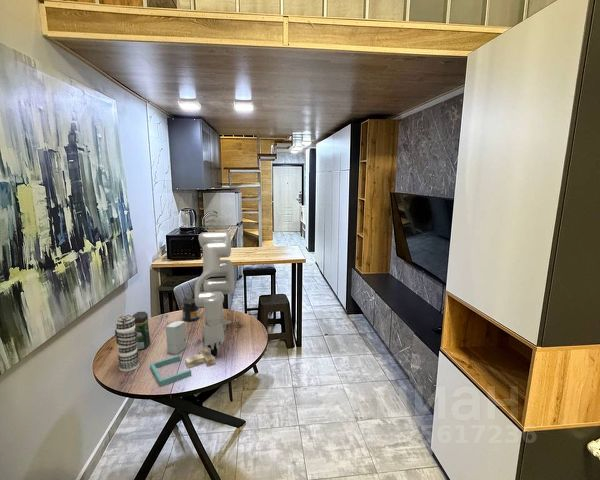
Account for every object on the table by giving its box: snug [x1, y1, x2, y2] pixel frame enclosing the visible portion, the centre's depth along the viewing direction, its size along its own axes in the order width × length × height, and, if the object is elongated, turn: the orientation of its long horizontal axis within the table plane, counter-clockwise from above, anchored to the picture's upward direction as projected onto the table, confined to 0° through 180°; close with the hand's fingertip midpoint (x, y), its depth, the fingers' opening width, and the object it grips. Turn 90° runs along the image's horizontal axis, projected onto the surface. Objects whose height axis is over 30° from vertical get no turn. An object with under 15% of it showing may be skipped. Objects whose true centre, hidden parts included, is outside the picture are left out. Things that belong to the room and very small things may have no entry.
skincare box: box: [165, 320, 187, 355], centre depth 168 cm, size 8×6×15 cm
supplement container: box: [181, 298, 201, 322], centre depth 208 cm, size 10×10×12 cm
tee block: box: [184, 348, 216, 369], centre depth 157 cm, size 12×12×3 cm
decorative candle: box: [114, 314, 140, 372], centre depth 152 cm, size 9×9×25 cm
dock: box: [149, 354, 192, 387], centre depth 149 cm, size 14×17×2 cm
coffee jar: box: [131, 311, 151, 351], centre depth 172 cm, size 10×8×19 cm
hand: (214, 355), depth 162 cm, fingers closed
